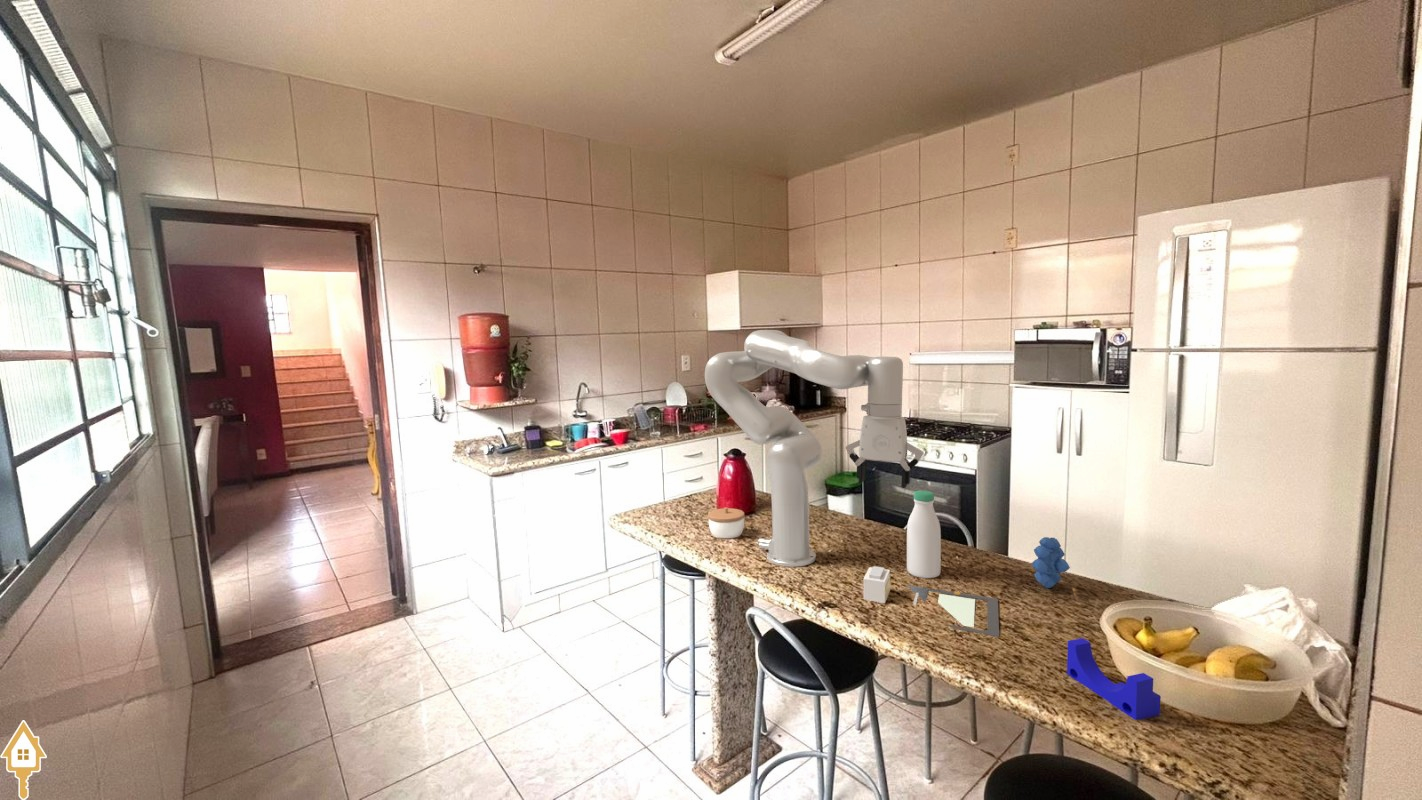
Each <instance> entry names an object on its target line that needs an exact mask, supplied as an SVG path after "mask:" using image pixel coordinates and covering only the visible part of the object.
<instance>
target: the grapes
mask: <svg viewBox="0 0 1422 800" xmlns="http://www.w3.org/2000/svg"><path fill="white" fill-rule="evenodd" d="M1038 543H1039V545H1037V546H1036V547H1035V548H1034V549H1033V552H1034V554H1035V555H1036V557H1037V558H1036V559H1034V560H1033V561H1032V562H1031V564H1032V567H1033V569H1034V570H1035V571H1036V572H1035V573H1034V574H1033V575H1034V577H1035V580H1036V581H1037V582H1038V583H1040V584H1041V585H1042V586H1043V587H1045V588H1046V589H1051V588H1052V587H1054V586H1055V585H1056V584H1057V583H1059V582H1060V581H1061V580H1062V577H1061V575H1060V574H1061V573H1066V572H1068V570H1070V569H1071V567H1070V565H1069V563H1068V562H1067V561H1066V560H1065V559H1063V557H1065V555H1066V554H1065V553H1064V550H1063V549H1062V545H1061V544H1060V542H1059V540H1058V538H1056V537H1048V536H1045V537H1044V536H1043V538H1041V539H1040V540H1039V541H1038Z"/></svg>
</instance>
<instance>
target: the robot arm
mask: <svg viewBox="0 0 1422 800" xmlns="http://www.w3.org/2000/svg"><path fill="white" fill-rule="evenodd" d="M743 345H744V346H743V348H744V350H742V351H740V350H739V351H726V352H719V353H716V354H715V355H713V356H712V357H710V358H709V360H708V361H707V362H706V365H705V369H704V380H705V381H704V382H705V386H706V389H707V391H708V392H709V395H710V396H711V397H712V399H714V401H715V402H716V403H717V404H718V405H719V407H721V408H722V409H723V410H724V411H725V412H726V413H727V414H728V415H729V417H730V418H731V419H732V420H733V421H734V422H735V424H737V425H738V428H740V429H741V430H742V431H743V432H744V434H745V435H746V437H748V439H750V440H751V441H752V442H753V443H754V444H757V445H767V444H771V443H773V444H772V445H771V446H770V448H769V450H768V452H767V457H766V464H767V469H768V474H769V481H770V495H771V524H772V525H771V533H772V534H771V535H772V537H771V538H769V539H767V538H765V537H764V538H762V537H759V538H758V542H757V543H758V546H759V548H760V549H767V550H768V551H767V553H766V559H767V560H768V561H769V562H770V563H772V564H775V565H778V566H780V567H789V568H792V567H793V568H796V567H797V568H798V567H805V566H807V565H808V566H809V565H811V564H813V563H814V562H815V561H816V559H817V558H816V557H817V555H816V552H815V551H814V550H812V549H810V508H809V507H810V506H809V505H810V502H809V501H810V500H809V487H808V486H809V485H808V483H807V480H806V476H805V475H806V474H805V471H807V470H809V469H812V468H813V467H815V466H817V465H818V464H819V462H820V461H821V460H822V456H823V449H822V444H821V443H820V441H819V439H818V438H817V437H816V436H815V434H813V432H812V431H811V430H809V428H808V427H807V426H806V425H805V424H804V423H803V422H802V421H801V420H800V419H799V418H798V417H797V416H796V415H795V414H794V412H792V411H791V410H790V409H788V408H786V407H784V406H781V405H772V406H771V405H770V406H765V405H764V404H763V403H762V402H761V401H759V399H758V398H757V397H756V396H755V395H754V394H753V392H751V391H750V390H749V389H747V388H745V387H744V386H743V385H741V383H742V382H748V381H752V380H754V379H756V378H758V377H759V376H761V375H762V374H764V373H766V372H767V371H768V370H770V369H773V368H776V369H779V370H782V371H785V372H790V373H792V374H796V375H797V376H798V377H800V378H803V379H804V380H806V381H809V382H813V383H815V384H818V385H822V386H825V387H829V388H832V389H836V390H849V389H853V388H860V387H866V386H867V402H866V404H861V406H860V411H864V412H866V415H864V416H863V418H862V421H861V428H860V435H859V436H860V437H859V439H858V440H856V441H853V442H852V443H850V444H847V445H845V450H846V452H847V453H848V456H849V457H848V458H850V460H852V462H853V463H854V465H855V466H856V479H858V484H862V483H863V482H865V480H866V464H865V461H874V462H884V463H894V464H895V463H899V464H900V466H901V467H902V469H903V470H901V484H900V485H901V487H900V488H902V489H906V487H907V486H908V485H910V482H911V469H913V468H914V467H915V466H917V465H918V463H919V462H920V460H921V458H923V456H924V451H923V450H921V449H920V448H919V447H916V446H914V445H912V443H909V442H908V436H907V435H908V434H907V423H906V419H905V416H902V414H903V413H902V412H903V411H902V410H903V382H904V380H903V378H904V376H903V375H904V363H903V360H902V358H900V357H897V356H868V355H860V354H855V355H843V356H842V355H837V354H834V353H830V352H826V351H822V350H819V349H816V348H813V347H811V345H810V343H809V341H807V340H804V339H802V338H801V339H800V338H796V337H793V336H789V335H787V334H786V333H785V332H783V331H781V330H777V329H760V330H758V329H757V330H754V331H753V332H750V334H749V335H748V336H747V337H746V338H745V340H744V343H743ZM856 448H859V449H858V453H859V454H857V453H856V452H855V449H856ZM908 452H910V453H912V454H914V458H913V459H911V460H909V459H908V458H907V456H908ZM858 455H859V456H858Z"/></svg>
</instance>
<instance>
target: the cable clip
mask: <svg viewBox="0 0 1422 800" xmlns="http://www.w3.org/2000/svg"><path fill="white" fill-rule="evenodd" d="M1066 660H1067V663H1066V664H1067V665H1066V675H1068V676H1070V677H1071V678H1072V679H1073V680H1075V681H1076V682H1078V683H1080V684H1081V685H1083V686H1084V687H1085V688H1087V689H1089V690H1091V691H1092V692H1094V693H1095V694H1097V695H1098V696H1100V697H1101V698H1102V699H1104V700H1105V701H1107V702H1109V704H1110V705H1112V706H1114V707H1115V708H1116V709H1118V710H1120V711H1121V712H1123V714H1124V713H1125V715H1127V716H1129V717H1130V718H1131V719H1133V720H1134V721H1138V720H1143V719H1147V718H1152V717H1156V716H1160V715H1161V695H1160V694H1158V693H1157V692H1155V691H1154V678H1153V677H1151V676H1150V675H1148V674H1146V673H1144V672H1142V673H1141V672H1140V673H1136V674H1131V675H1127V677H1126V681H1125V682H1126V683H1124V682H1118V683H1114V682H1113V681H1112V680H1110V679H1109V678H1108V677H1107V676H1106V675H1105V674H1104V673H1103V672H1102V670H1101V668H1100V667H1099V666H1098V664H1097V662H1096V660H1095V658H1094V656H1093V652H1092V643H1091V642H1090V641H1089V640H1087V639H1085V638H1083V637H1081V638H1077V639H1071V640H1067V659H1066Z"/></svg>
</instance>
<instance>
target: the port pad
mask: <svg viewBox="0 0 1422 800" xmlns="http://www.w3.org/2000/svg"><path fill="white" fill-rule="evenodd" d="M937 599H938V600H937V603H938V604H939V606H941V607H942V608H943V609H945V611H947V612H948V613H949V615H951V616H952V617H953V618H954V619H956V620H957V622H959V623H960V624H961V625H962V627H964V626H965V627H967V628H972V629H975V609H976V598H969V597H963V596H956V595H950V594H945V593H939V594H938V598H937Z"/></svg>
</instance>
